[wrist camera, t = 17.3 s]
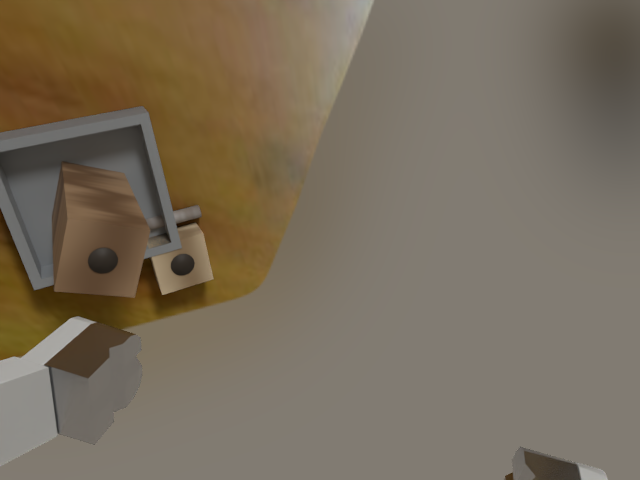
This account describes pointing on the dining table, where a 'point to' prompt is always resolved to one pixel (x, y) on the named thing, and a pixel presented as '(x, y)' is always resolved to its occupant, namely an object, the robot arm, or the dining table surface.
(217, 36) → the dining table surface
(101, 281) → the block
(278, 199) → the dining table surface
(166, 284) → the block
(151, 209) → the tray
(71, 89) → the dining table surface
